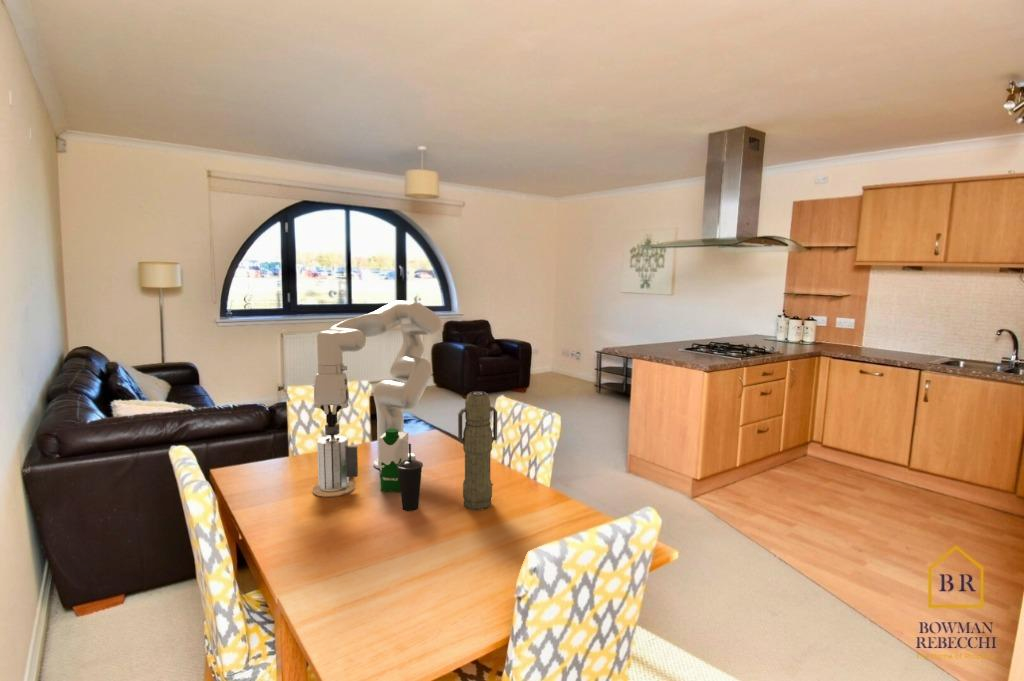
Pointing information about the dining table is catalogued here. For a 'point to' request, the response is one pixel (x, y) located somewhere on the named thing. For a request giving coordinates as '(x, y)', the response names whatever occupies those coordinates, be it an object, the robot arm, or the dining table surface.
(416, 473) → the drinking cup
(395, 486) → the milk carton
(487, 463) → the thermos
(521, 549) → the dining table surface
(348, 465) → the cafetiere
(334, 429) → the plunger
